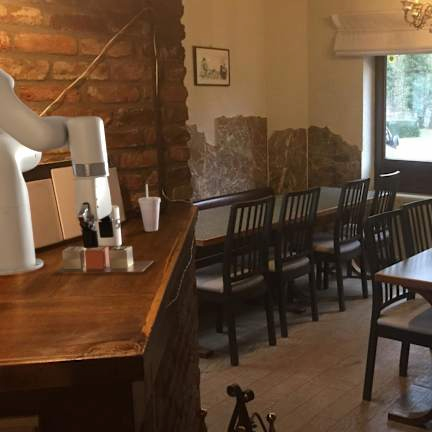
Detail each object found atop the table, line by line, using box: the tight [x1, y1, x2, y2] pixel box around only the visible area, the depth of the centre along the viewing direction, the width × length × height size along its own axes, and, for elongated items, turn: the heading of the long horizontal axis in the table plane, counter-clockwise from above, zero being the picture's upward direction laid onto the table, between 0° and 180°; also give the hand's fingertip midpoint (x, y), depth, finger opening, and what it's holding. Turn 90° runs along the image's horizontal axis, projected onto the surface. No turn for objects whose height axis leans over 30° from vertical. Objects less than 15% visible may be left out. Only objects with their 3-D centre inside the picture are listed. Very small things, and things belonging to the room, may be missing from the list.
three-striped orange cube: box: [85, 246, 110, 269], centre depth 149 cm, size 4×4×4 cm
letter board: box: [56, 260, 154, 273], centre depth 150 cm, size 20×9×1 cm, turn 94°
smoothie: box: [137, 183, 162, 232], centre depth 188 cm, size 6×6×14 cm
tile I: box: [61, 246, 88, 269], centre depth 149 cm, size 4×4×4 cm
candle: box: [95, 204, 122, 247], centre depth 170 cm, size 6×6×15 cm
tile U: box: [109, 245, 134, 269], centre depth 149 cm, size 4×4×4 cm
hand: (99, 242), depth 148 cm, fingers open, 9 cm apart
